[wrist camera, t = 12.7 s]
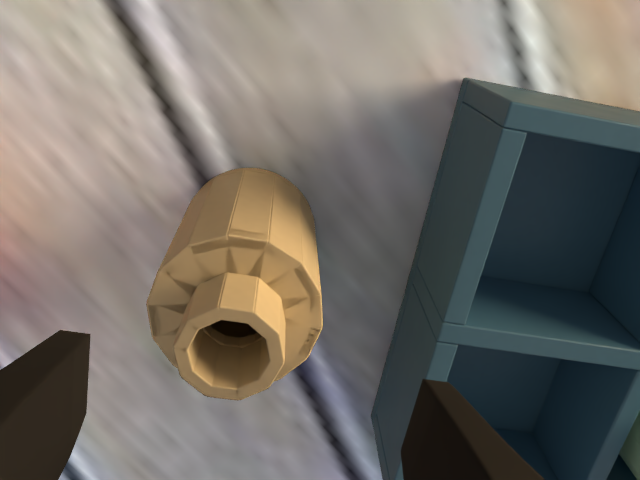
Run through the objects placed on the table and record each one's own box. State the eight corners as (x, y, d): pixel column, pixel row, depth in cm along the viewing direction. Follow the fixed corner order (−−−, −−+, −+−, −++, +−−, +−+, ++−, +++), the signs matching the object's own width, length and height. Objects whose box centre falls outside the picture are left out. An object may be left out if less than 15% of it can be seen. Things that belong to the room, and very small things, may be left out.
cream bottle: (303, 293, 22) (309, 443, 15) (179, 274, 22) (122, 420, 14) (326, 179, 21) (345, 285, 13) (192, 156, 20) (134, 253, 13)
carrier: (677, 454, 26) (751, 544, 22) (370, 416, 25) (386, 505, 20) (839, 150, 21) (976, 190, 17) (463, 77, 19) (511, 101, 15)
